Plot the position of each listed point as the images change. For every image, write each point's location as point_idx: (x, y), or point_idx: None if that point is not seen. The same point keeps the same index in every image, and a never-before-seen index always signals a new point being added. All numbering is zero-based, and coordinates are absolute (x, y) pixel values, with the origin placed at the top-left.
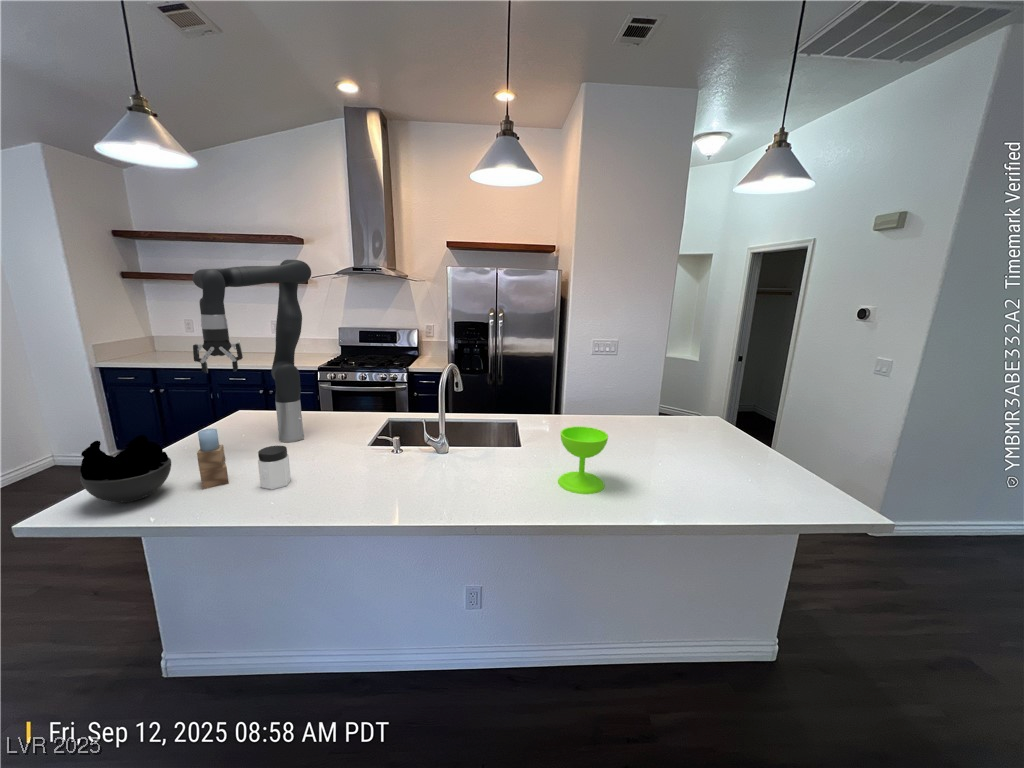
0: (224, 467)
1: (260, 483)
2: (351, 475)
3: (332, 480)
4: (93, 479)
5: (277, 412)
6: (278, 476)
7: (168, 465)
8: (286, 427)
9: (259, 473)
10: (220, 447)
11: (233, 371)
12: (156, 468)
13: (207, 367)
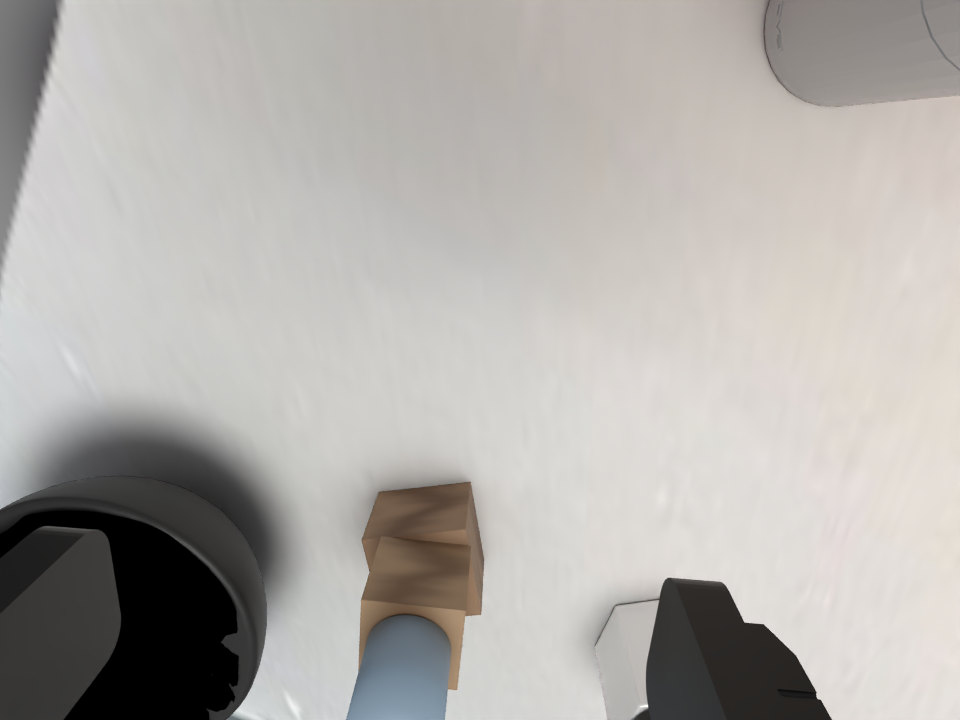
0: (472, 614)
1: (597, 661)
2: (924, 691)
3: (843, 699)
4: None
5: (897, 9)
6: None
7: (258, 660)
8: (866, 93)
9: (604, 700)
10: (456, 650)
11: (651, 690)
12: (227, 706)
13: (7, 612)
